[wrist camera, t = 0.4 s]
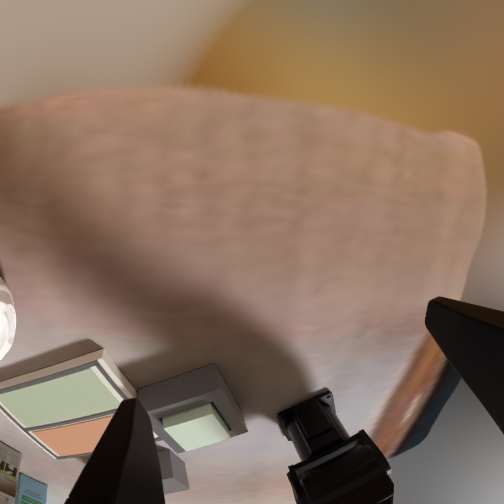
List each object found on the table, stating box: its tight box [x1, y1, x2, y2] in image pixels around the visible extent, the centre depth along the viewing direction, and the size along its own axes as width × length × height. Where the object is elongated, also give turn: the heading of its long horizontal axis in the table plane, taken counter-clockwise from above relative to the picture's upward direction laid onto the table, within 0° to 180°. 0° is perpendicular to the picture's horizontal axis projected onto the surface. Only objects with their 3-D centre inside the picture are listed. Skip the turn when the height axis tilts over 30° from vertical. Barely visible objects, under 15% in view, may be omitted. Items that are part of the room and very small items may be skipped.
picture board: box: [0, 349, 163, 459], centre depth 23 cm, size 12×16×1 cm
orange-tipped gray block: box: [157, 449, 189, 494], centre depth 27 cm, size 4×10×4 cm, turn 105°
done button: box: [162, 402, 230, 451], centre depth 24 cm, size 4×4×2 cm
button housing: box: [138, 364, 248, 453], centre depth 25 cm, size 7×7×3 cm
